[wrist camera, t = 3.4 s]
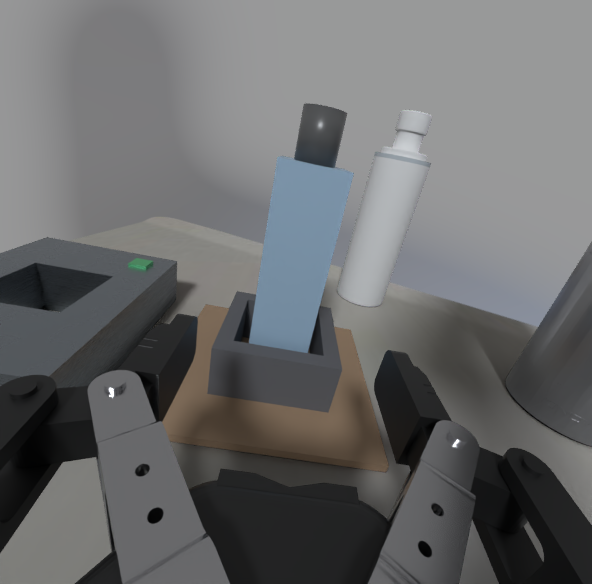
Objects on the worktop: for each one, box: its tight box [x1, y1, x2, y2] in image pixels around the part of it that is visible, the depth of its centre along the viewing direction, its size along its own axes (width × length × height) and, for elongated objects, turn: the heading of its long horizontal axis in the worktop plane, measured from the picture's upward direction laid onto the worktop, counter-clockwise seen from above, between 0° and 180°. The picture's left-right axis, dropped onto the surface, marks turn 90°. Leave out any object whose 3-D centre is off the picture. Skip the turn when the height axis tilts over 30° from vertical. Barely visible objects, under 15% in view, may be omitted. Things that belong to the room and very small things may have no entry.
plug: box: [249, 104, 354, 353], centre depth 22 cm, size 4×4×19 cm
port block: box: [0, 237, 177, 388], centre depth 24 cm, size 18×13×5 cm
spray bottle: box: [337, 110, 432, 307], centre depth 39 cm, size 7×7×25 cm
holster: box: [162, 291, 389, 472], centre depth 25 cm, size 16×16×5 cm
